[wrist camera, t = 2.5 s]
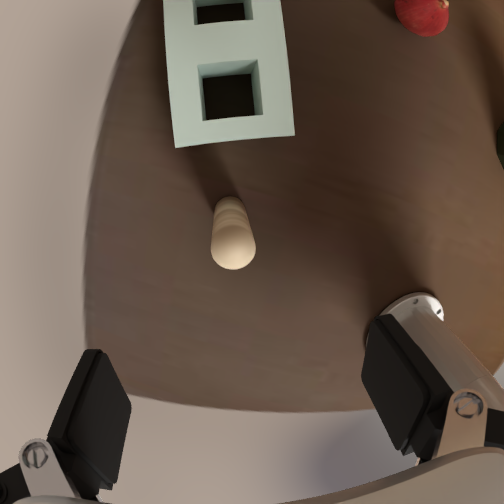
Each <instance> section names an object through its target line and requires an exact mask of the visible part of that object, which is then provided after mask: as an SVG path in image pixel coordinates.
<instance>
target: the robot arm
mask: <svg viewBox="0 0 504 504" xmlns="http://www.w3.org/2000/svg"><path fill="white" fill-rule="evenodd" d="M361 378H362V382H363V384H364V386H365V388H366V390H367V392H368V394H369V396H370V398H371V400H372V402H373V404H374V406H375V408H376V410H377V412H378V414H379V416H380V418H381V420H382V422H383V424H384V426H385V428H386V430H387V432H388V434H389V437H390V438H391V441H392V443H393V445H394V447H395V449H396V450H401V452H402V454H403V456H404V455H407V454H410V453H412V452H415V454H416V456H417V457H418V459H417V462H416V465H415V467H412V468H410V469H407V470H405V471H402V472H399V473H396V474H393V475H391V476H388V477H385V478H382V479H379V480H376V481H373V482H369V483H367V484H363V485H360V486H356V487H353V488H349V489H346V490H342V491H338V492H335V493H330V494H327V495H322V496H318V497H312V498H307V499H303V500H297V501H292V502H285V503H279V504H504V389H503V387H502V386H501V385H500V384H499V383H498V382H497V380H496V379H495V378H494V377H493V376H492V375H491V373H490V372H489V371H488V370H487V369H486V368H485V367H484V365H483V364H482V363H481V362H480V361H479V360H478V359H477V357H476V356H475V355H474V354H473V353H472V352H471V351H470V350H469V349H468V348H467V346H466V345H465V344H464V343H463V342H462V341H461V340H460V339H459V338H458V337H457V336H456V335H455V334H454V332H453V331H452V330H451V329H450V328H449V327H448V326H447V325H446V324H445V323H444V322H443V309H442V306H441V304H440V302H439V301H438V300H437V299H436V298H435V297H434V296H432V295H431V294H428V293H425V292H417V293H411V294H408V295H406V296H403V297H401V298H400V299H398V300H396V301H395V302H393V303H392V304H390V305H389V306H388V307H387V308H386V309H385V310H384V311H383V312H382V313H381V314H380V315H379V316H376V317H375V318H374V321H372V322H371V323H370V328H369V333H368V336H367V340H366V352H365V358H364V363H363V368H362V374H361ZM130 414H131V402H130V400H129V398H128V396H127V394H126V393H125V391H124V389H123V387H122V385H121V383H120V381H119V379H118V377H117V375H116V373H115V370H114V368H113V366H112V364H111V362H110V360H109V358H108V356H107V354H106V353H103V352H102V350H100V349H87V350H85V351H84V353H83V355H82V357H81V359H80V361H79V363H78V365H77V367H76V370H75V371H74V374H73V376H72V378H71V380H70V382H69V385H68V387H67V389H66V391H65V394H64V396H63V398H62V400H61V403H60V405H59V407H58V410H57V413H56V415H55V417H54V420H53V422H52V425H51V427H50V430H49V432H48V435H47V436H48V437H47V440H46V441H45V440H43V439H32V440H29V441H28V442H26V443H25V444H24V445H23V446H22V448H21V450H20V452H19V463H18V464H17V465H15V466H13V467H11V468H9V469H7V470H5V471H4V472H2V473H0V504H110V503H104V502H103V501H102V499H101V498H100V496H99V495H98V494H99V488H100V489H107V490H112V487H113V483H114V484H115V483H116V482H117V479H118V473H119V468H120V463H121V457H122V452H123V447H124V442H125V437H126V433H127V428H128V423H129V419H130Z"/></svg>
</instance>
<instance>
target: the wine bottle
mask: <svg viewBox="0 0 504 504" xmlns="http://www.w3.org/2000/svg"><path fill="white" fill-rule="evenodd" d="M497 155H498V158H499V160H500V162H501V164H502V167H503V169H504V122H503V124H502V125H501V127H500V128H499V130H498V131H497Z"/></svg>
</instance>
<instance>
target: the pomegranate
mask: <svg viewBox="0 0 504 504" xmlns="http://www.w3.org/2000/svg"><path fill="white" fill-rule="evenodd" d="M394 7H395V12H396V15H397V17H398V19H399V21H400V22H401V23H402V24H403V26H404V27H405V28H407V29H408V30H409V31H411V32H413V33H415V34H418V35H421V36H424V37H426V36H434V35H437V34H439V33H440V32H441V31H443V30H444V29H445V28H446V26H447V23H448V20H449V11H448V7H449V3H448V1H446V0H395V2H394Z"/></svg>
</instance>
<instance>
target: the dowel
mask: <svg viewBox="0 0 504 504" xmlns="http://www.w3.org/2000/svg"><path fill="white" fill-rule="evenodd" d="M255 250H256V246H255V242H254V238H253V234H252V231H251V227H250V224H249V220H248V217H247V213H246V210H245V206H244V204H243V203H242V201H241V200H239V199H238V198H236V197H231V196H229V197H224V198H222V199H221V200H220V201H219V202H218V203H217V204H216V206H215V211H214V221H213V231H212V241H211V254H212V257H213V258H214V260H215V261H216V262H217V264H219V265H220V266H222V267H224V268H227V269H239V268H242V267H244V266H246V265H247V264H249V263H250V262H251V260H252V259H253V257H254V255H255Z"/></svg>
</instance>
